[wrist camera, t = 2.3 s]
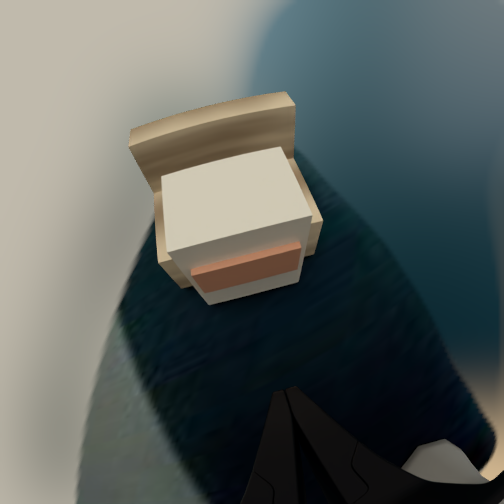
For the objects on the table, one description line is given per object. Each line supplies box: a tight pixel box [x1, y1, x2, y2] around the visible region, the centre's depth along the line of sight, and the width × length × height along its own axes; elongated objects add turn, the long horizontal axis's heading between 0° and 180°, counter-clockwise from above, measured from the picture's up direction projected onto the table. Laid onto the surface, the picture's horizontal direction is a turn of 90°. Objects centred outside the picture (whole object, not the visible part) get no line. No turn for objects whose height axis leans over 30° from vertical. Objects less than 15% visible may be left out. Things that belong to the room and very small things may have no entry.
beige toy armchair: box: [129, 92, 323, 288], centre depth 20 cm, size 8×11×11 cm
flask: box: [402, 439, 489, 484], centre depth 8 cm, size 7×7×10 cm
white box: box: [161, 147, 313, 305], centre depth 18 cm, size 5×7×9 cm
